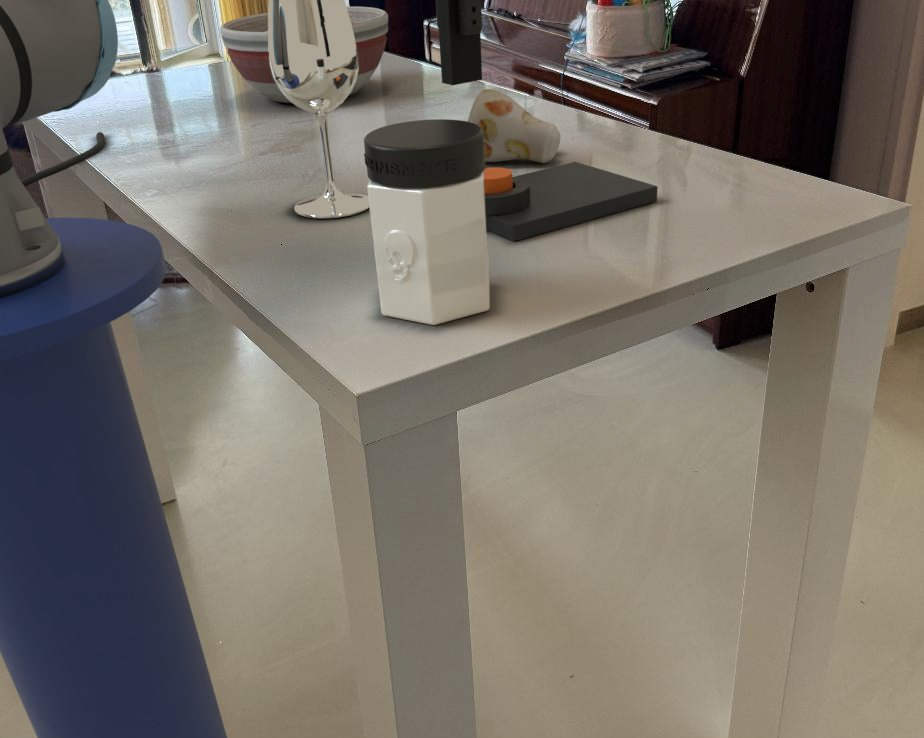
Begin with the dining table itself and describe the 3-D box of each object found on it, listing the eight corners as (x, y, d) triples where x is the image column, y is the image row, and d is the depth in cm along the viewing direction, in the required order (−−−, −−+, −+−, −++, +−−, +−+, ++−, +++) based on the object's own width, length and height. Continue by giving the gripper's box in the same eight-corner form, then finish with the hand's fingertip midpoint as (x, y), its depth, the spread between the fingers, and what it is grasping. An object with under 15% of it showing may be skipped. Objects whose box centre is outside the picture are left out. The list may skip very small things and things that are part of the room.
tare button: (464, 190, 86) (463, 173, 85) (497, 182, 88) (496, 165, 87) (487, 199, 84) (486, 181, 83) (520, 190, 85) (520, 172, 84)
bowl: (200, 105, 138) (185, 27, 132) (319, 75, 152) (310, 3, 146) (308, 122, 125) (296, 36, 119) (428, 87, 139) (422, 9, 133)
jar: (355, 312, 71) (333, 142, 65) (416, 275, 77) (402, 115, 70) (459, 333, 67) (447, 153, 60) (516, 291, 73) (511, 123, 66)
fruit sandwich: (560, 173, 99) (507, 86, 94) (486, 207, 105) (434, 127, 100) (581, 137, 103) (531, 52, 98) (509, 171, 110) (460, 93, 105)
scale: (428, 213, 90) (425, 180, 89) (575, 175, 97) (575, 144, 96) (502, 245, 82) (500, 209, 80) (657, 201, 89) (658, 167, 87)
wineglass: (368, 191, 97) (342, -38, 86) (379, 213, 91) (353, -31, 80) (290, 200, 96) (253, -30, 85) (296, 224, 90) (257, -22, 79)
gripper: (554, -341, 58) (554, 84, 71) (434, -308, 67) (454, 63, 80) (450, -345, 55) (471, 102, 68) (338, -310, 64) (376, 78, 77)
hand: (462, 80), depth 74 cm, fingers closed
